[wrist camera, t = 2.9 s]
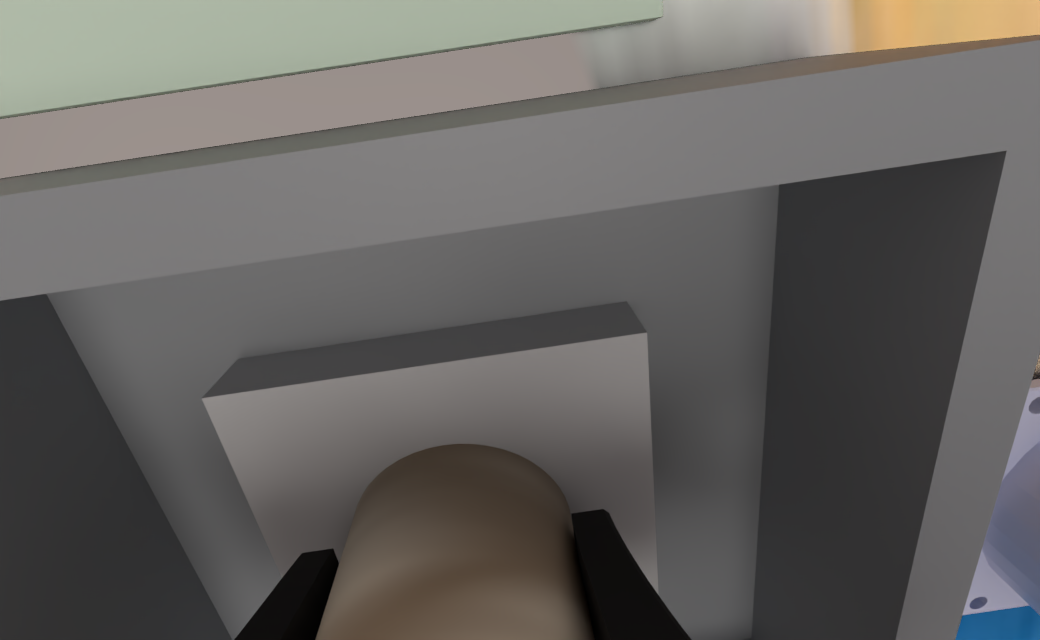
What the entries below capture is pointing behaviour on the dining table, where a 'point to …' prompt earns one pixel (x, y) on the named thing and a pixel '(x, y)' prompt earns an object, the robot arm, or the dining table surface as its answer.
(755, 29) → the dining table surface
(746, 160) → the box
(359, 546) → the cylinder
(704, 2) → the dining table surface
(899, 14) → the dining table surface
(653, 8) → the mat
